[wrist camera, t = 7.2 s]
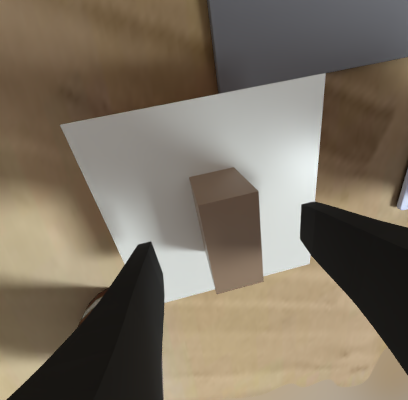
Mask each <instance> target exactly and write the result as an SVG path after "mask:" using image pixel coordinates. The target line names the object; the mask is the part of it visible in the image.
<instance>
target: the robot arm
mask: <svg viewBox="0 0 408 400" xmlns="http://www.w3.org/2000/svg"><path fill="white" fill-rule="evenodd" d="M397 208H398V209H400V210H406V209H408V169H407V173H406V176H405V179H404V183H403V186H402V190H401V193H400V196H399V200H398V203H397ZM300 240H301V241H302V243H303V244H304V246H305V247H306V249H307V250H308V252H309V253H310V254H311V256H312V257H313V258H314V259H315V260H316V261H317V262H318V264H319V265H320V266H321V267H322V268H323V269H324V270H325V271H326V272H327V273H328V274H329V275H330V277H331V278H332V279H333V280H334V281H335V282H336V283H337V284H338V285H339V286H340V287H341V288H342V289H343V291H344V292H345V293H346V294H347V295H348V296H349V297H350V298H351V299H352V301H353V302H354V303H355V304H356V305H357V307H358V308H359V309H360V310H361V312H362V313H363V314H364V316H365V317H366V318H367V319H368V321H369V322H370V323H371V325H372V326H373V327H374V329H375V330H376V331H377V333H378V334H379V335H380V337H381V338H382V340H383V341H384V342H385V344H386V345H387V346H388V348H389V349H390V350H391V352H392V353H393V355H394V356H395V358H396V359H397V360H398V362H399V363H400V365H401V366H402V368H403V369H404V371H405V372H406V373H407V375H408V228H407V227H403V226H399V225H395V224H391V223H387V222H383V221H380V220H376V219H372V218H369V217H366V216H362V215H359V214H356V213H352V212H349V211H346V210H342V209H339V208H336V207H333V206H329V205H326V204H322V203H318V202H309V203H305V204H301V222H300ZM164 297H165V293H164V279H163V272H162V269H161V267H160V264H159V261H158V258H157V256H156V253H155V250H154V248H153V245H152V242H151V241H150V242H146V243H142V244H138V245H137V247H136V248H135V250H134V251H133V253H132V254H131V256H130V257H129V259H128V260H127V262H126V264H125V265H124V267H123V268H122V270H121V271H120V273H119V274H118V276H117V277H116V279H115V280H114V282H113V283H112V285H111V286H110V287H109V289H108V290H107V291H106V293H105V294H104V295H103V297H102V298H101V300H100V301H99V302H98V304H97V305H96V306H95V307H94V309H93V310H92V311H91V312H90V314H89V315H88V316H87V317H86V318H85V319H84V321H83V322H82V323H81V324H80V325H79V326H78V328H77V329H76V330H75V331H74V332H73V333H72V334H71V336H70V337H69V338H68V339H67V340H66V341H65V342H64V343H63V344H62V345H61V346H60V347H59V348H58V349H57V350H56V351H55V352H54V354H53V355H52V356H51V357H50V358H49V359H48V360H47V361H46V362H45V363H44V364H43V365H42V366H41V367H40V368H39V369H38V370H37V371H36V372H35V373H34V374H33V375H32V376H31V377H30V378H29V379H28V380H27V381H26V382H25V383H24V384H23V385H22V386H21V387H20V388H19V389H18V390H16V391H15V392H14V393H13V394H12V395H11V396H10V397H9V398H8V399H7V400H163V383H162V338H163V319H164Z"/></svg>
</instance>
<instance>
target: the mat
mask: <svg viewBox="0 0 408 400" xmlns="http://www.w3.org/2000/svg"><path fill="white" fill-rule="evenodd" d="M207 4H208V12H209V20H210V28H211V36H212V44H213V52H214V60H215V68H216V76H217V84H218V92H219V94H220V93H225V92H230V91H235V90H240V89H246V88H251V87H256V86H261V85H266V84H271V83H276V82H282V81H287V80H292V79H297V78H302V77H307V76H312V75H318V74H324V73H329V72H334V71H339V70H344V69H349V68H354V67H359V66H364V65H370V64H375V63H380V62H385V61H390V60H395V59H400V58H405V57H408V0H207Z"/></svg>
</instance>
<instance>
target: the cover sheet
mask: <svg viewBox="0 0 408 400" xmlns="http://www.w3.org/2000/svg"><path fill="white" fill-rule="evenodd" d="M325 77H326V73H324V74H318V75H312V76H307V77H302V78H297V79H292V80H287V81H282V82H276V83H271V84H266V85H261V86H256V87H251V88H246V89H240V90H235V91H230V92H225V93H220V94H215V95H210V96H204V97H199V98H194V99H189V100H184V101H179V102H174V103H169V104H163V105H158V106H153V107H148V108H143V109H138V110H133V111H127V112H122V113H117V114H112V115H107V116H102V117H97V118H91V119H86V120H81V121H76V122H71V123H66V124H62V125H60V126H61V128H62V131H63V133H64V135H65V137H66V139H67V141H68V143H69V146H70V148H71V150H72V152H73V154H74V156H75V158H76V161H77V163H78V165H79V167H80V169H81V171H82V173H83V176H84V178H85V180H86V182H87V184H88V186H89V188H90V191H91V193H92V195H93V197H94V199H95V201H96V203H97V206H98V208H99V210H100V212H101V214H102V216H103V219H104V221H105V223H106V225H107V227H108V229H109V231H110V234H111V236H112V238H113V240H114V242H115V244H116V246H117V249H118V251H119V253H120V255H121V257H122V259H123V261H124V264H126V262H127V260H128V259H129V257H130V256H131V254H132V253H133V251H134V250H135V248H136V247H137V245H138V244H142V243H146V242H150V241H151V242H152V245H153V248H154V250H155V253H156V256H157V258H158V261H159V264H160V267H161V269H162V272H163V279H164V293H165V297H164V303H166V302H169V301H173V300H177V299H180V298H184V297H188V296H192V295H195V294H199V293H203V292H206V291H210V290H214V289H215V290H216V294H220V293H223V292H227V291H231V290H234V289H238V288H242V287H245V286H249V285H253V284H256V283H260V282H264V281H263V276H266V275H270V274H274V273H277V272H281V271H285V270H288V269H292V268H296V267H300V266H303V265H307V264H310V253H309V252H308V250H307V249H306V247H305V246H304V244H303V243H302V241H301V240H300V222H301V204H305V203H309V202H315V194H316V182H317V170H318V159H319V147H320V135H321V123H322V112H323V100H324V88H325Z"/></svg>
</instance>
